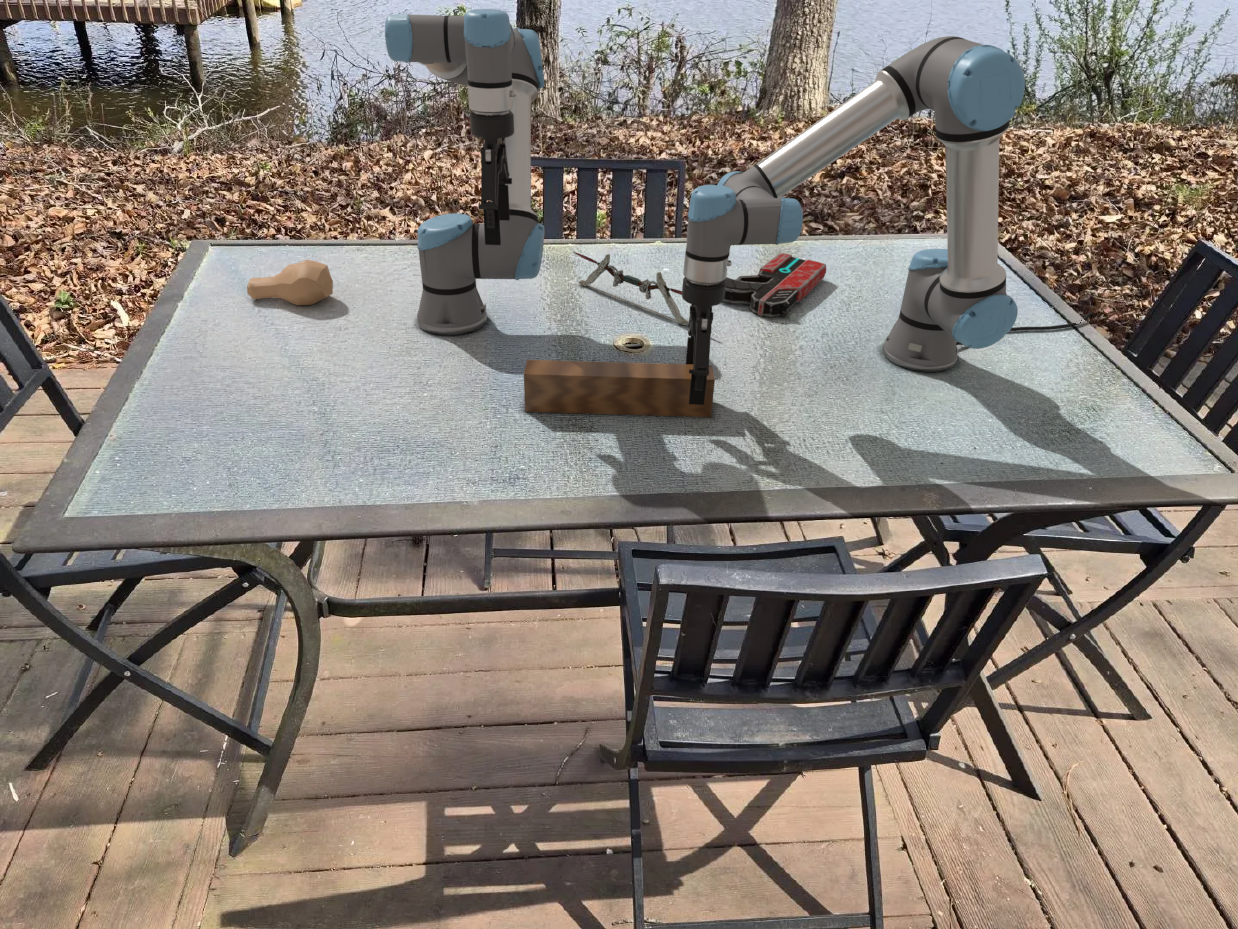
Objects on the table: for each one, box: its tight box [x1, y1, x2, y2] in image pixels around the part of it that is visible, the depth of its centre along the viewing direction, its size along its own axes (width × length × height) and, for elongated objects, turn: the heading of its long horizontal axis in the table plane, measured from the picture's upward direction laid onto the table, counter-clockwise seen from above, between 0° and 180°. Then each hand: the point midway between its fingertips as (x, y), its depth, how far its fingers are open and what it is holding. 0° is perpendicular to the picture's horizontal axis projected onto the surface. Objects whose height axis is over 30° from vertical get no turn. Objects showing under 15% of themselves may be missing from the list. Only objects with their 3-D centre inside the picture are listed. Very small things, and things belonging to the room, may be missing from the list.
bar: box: [523, 359, 716, 418], centre depth 165 cm, size 35×6×8 cm, turn 89°
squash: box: [246, 259, 334, 306], centre depth 203 cm, size 11×20×9 cm, turn 90°
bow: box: [573, 251, 689, 326], centre depth 205 cm, size 39×2×10 cm, turn 47°
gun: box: [723, 252, 827, 318], centre depth 215 cm, size 4×31×19 cm
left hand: (498, 231), depth 163 cm, fingers open, 13 cm apart
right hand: (694, 385), depth 164 cm, fingers open, 13 cm apart
